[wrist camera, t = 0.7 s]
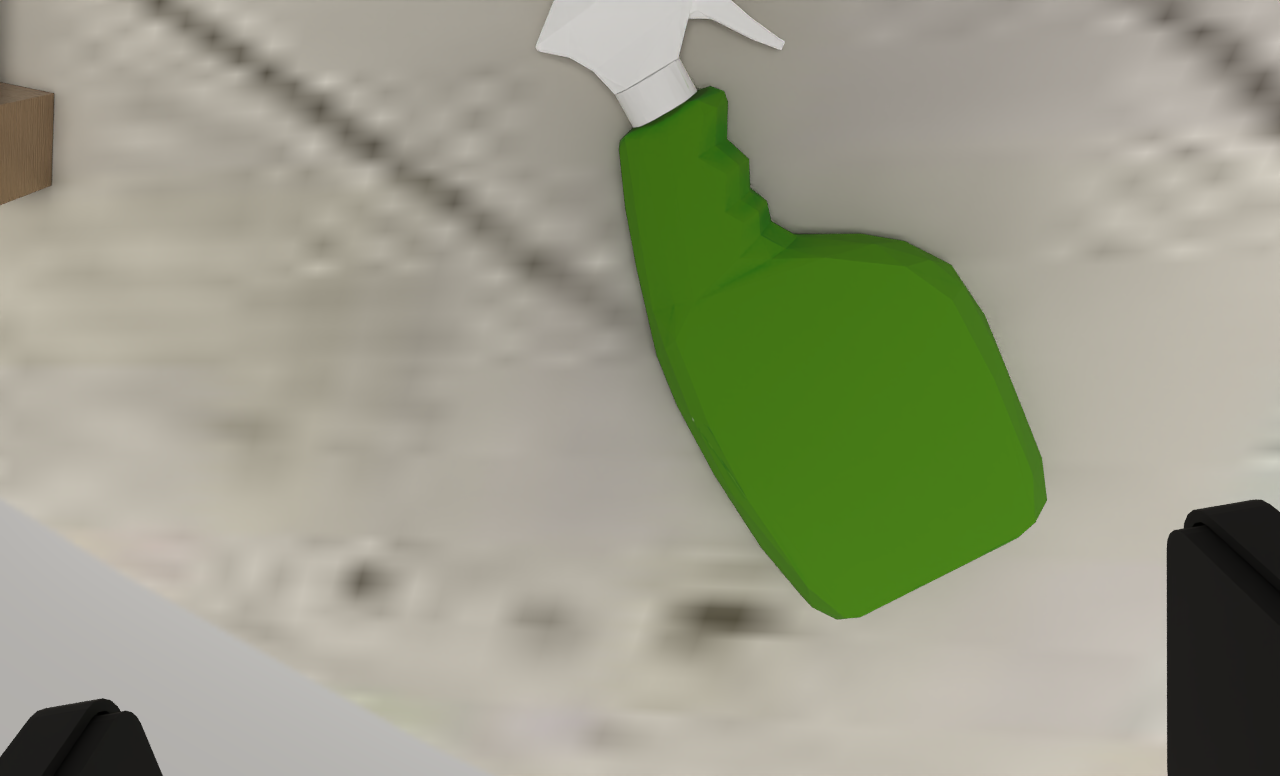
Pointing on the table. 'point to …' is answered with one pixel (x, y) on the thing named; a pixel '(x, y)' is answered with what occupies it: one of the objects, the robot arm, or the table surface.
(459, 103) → the table surface
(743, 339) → the spray bottle
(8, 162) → the rod with tan block
